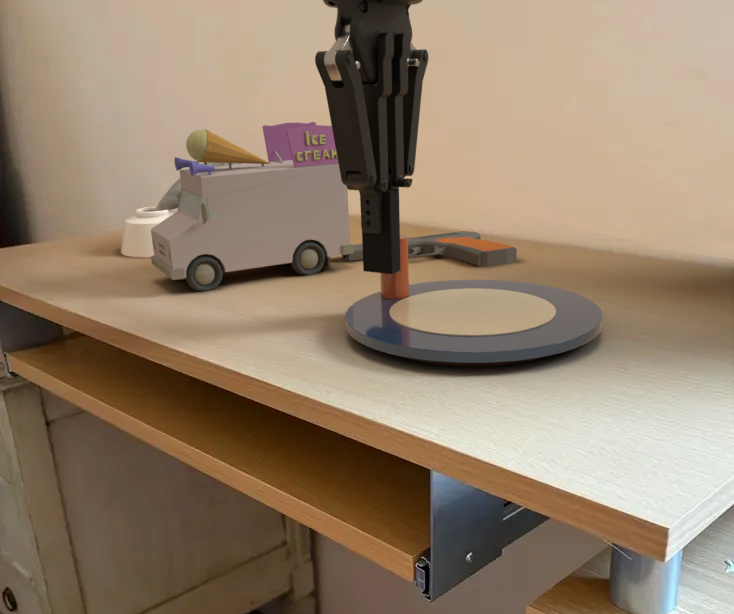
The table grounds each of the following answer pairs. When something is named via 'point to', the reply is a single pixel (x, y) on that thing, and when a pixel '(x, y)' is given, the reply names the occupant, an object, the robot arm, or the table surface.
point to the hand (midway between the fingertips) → (382, 270)
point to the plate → (471, 319)
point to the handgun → (454, 249)
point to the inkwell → (151, 221)
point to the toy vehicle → (255, 207)
